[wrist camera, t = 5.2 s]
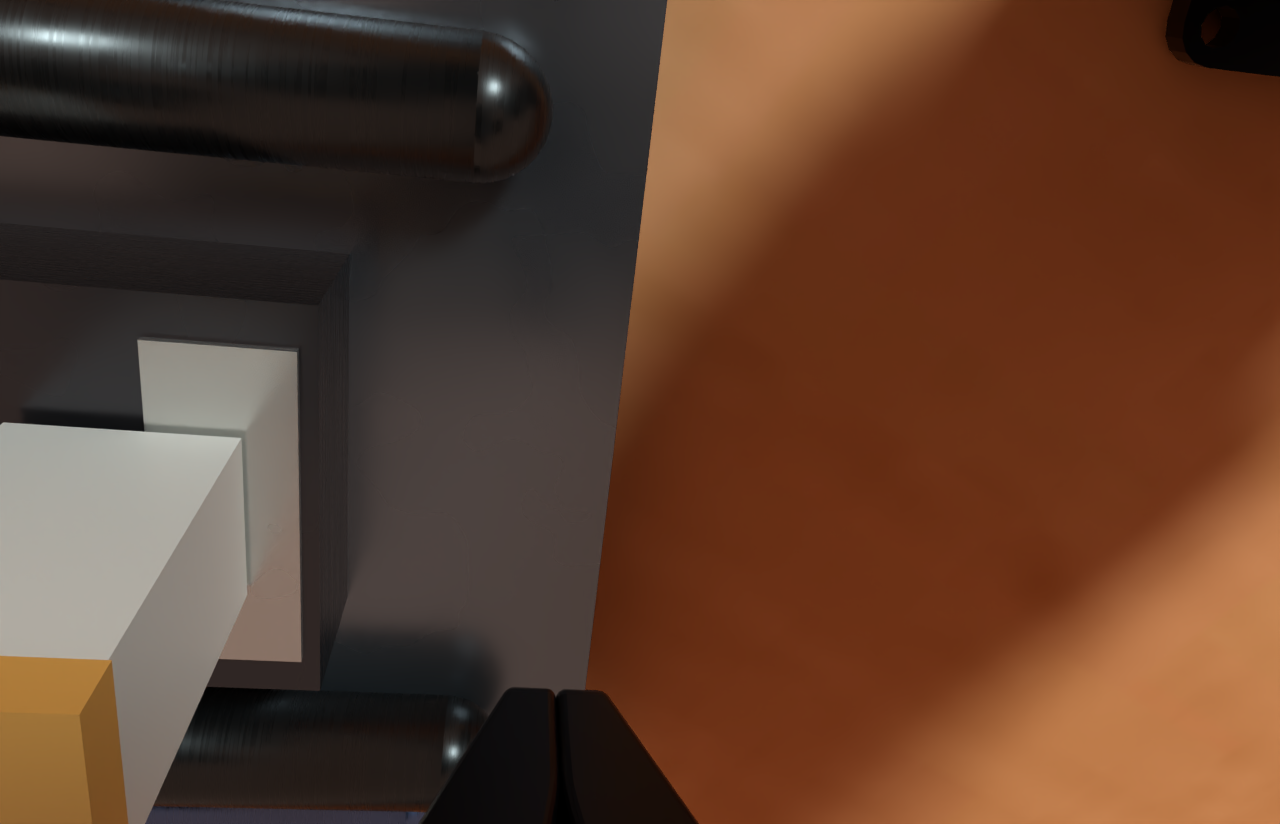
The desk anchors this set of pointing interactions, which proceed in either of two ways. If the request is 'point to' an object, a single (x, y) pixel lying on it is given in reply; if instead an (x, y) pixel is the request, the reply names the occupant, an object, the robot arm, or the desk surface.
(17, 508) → the lever
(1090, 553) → the desk surface
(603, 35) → the panel
